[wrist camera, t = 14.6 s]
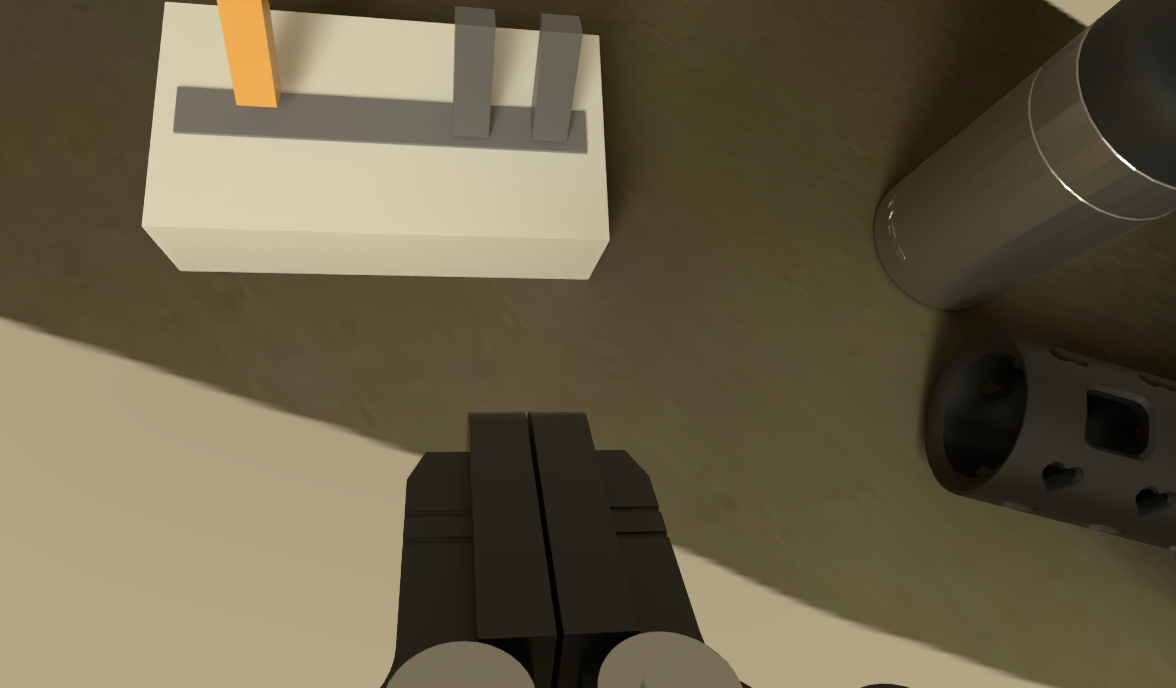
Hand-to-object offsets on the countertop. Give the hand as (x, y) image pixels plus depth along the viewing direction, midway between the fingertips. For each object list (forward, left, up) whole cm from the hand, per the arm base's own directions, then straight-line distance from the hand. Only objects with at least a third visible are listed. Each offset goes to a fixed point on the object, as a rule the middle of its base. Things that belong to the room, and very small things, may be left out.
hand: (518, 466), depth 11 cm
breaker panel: (+3, -20, -33) cm, 39 cm away
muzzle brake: (-41, -2, -33) cm, 53 cm away
